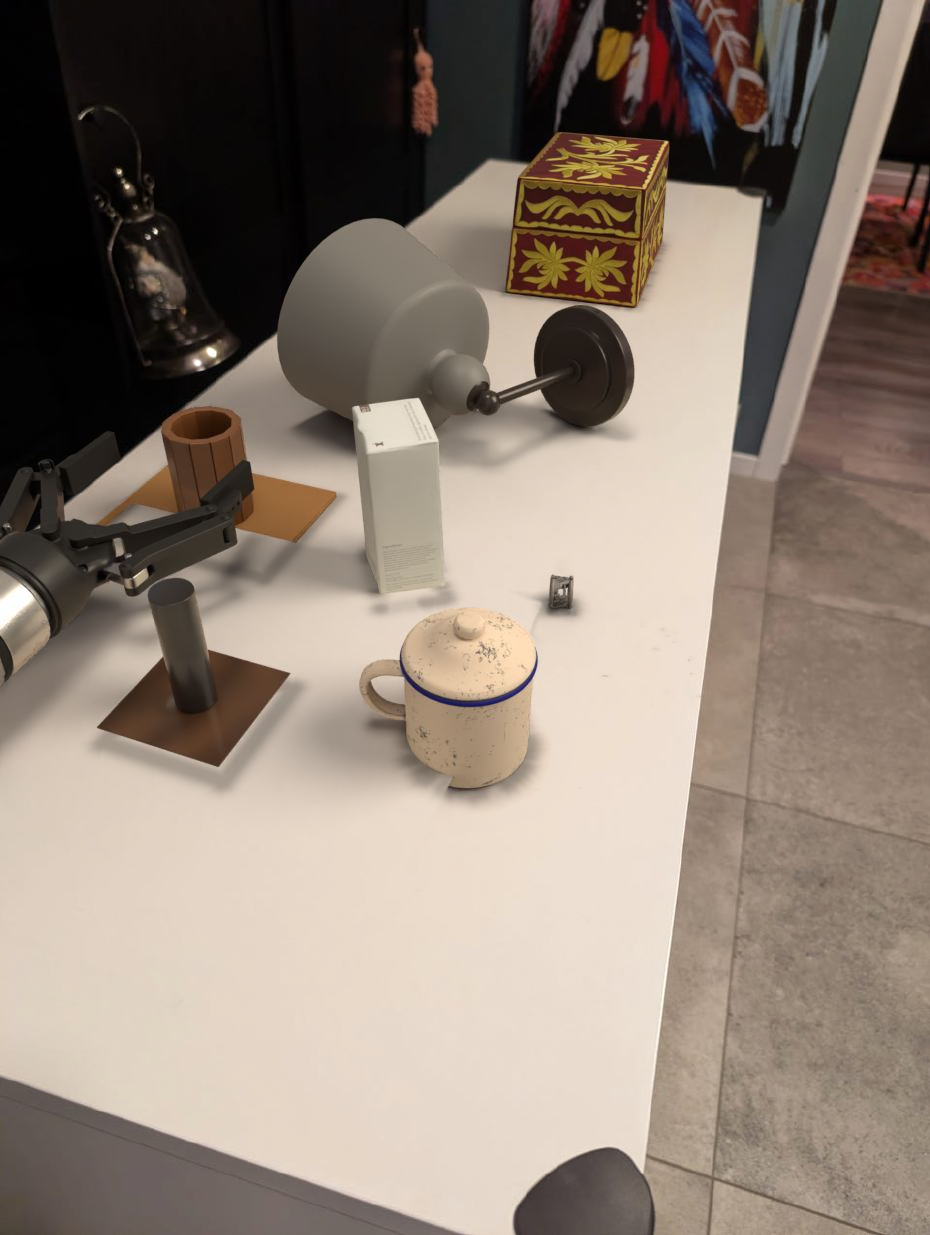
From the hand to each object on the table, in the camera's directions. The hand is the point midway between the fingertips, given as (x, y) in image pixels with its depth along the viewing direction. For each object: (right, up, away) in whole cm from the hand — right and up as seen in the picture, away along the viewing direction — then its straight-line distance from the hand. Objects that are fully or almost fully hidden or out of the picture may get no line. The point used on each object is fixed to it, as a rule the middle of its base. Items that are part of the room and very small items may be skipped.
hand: (180, 459), depth 83 cm
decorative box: (+43, +38, +59) cm, 82 cm away
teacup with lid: (+23, -23, -15) cm, 36 cm away
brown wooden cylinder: (+1, -4, +7) cm, 8 cm away
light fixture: (+24, +6, +20) cm, 31 cm away
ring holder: (+5, -21, -13) cm, 25 cm away
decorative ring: (+33, -13, -2) cm, 35 cm away
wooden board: (+1, -4, +7) cm, 9 cm away
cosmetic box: (+19, -10, +1) cm, 22 cm away
